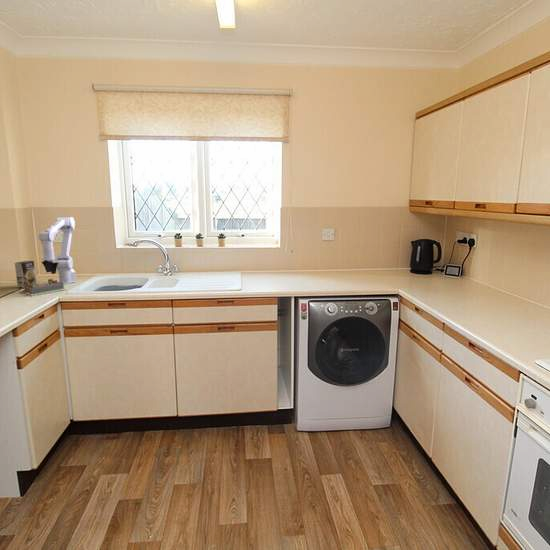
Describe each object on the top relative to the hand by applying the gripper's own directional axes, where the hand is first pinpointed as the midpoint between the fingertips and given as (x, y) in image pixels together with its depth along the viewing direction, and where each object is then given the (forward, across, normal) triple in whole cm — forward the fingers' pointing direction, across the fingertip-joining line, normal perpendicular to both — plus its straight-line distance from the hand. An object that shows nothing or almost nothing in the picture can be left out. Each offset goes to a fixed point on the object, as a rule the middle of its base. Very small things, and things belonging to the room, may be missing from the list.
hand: (51, 272), depth 248 cm
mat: (+10, +7, -6) cm, 14 cm away
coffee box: (+10, -19, -8) cm, 23 cm away
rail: (+9, +7, -6) cm, 13 cm away
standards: (+10, -2, -6) cm, 12 cm away
